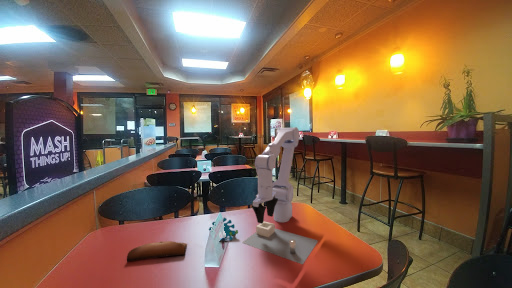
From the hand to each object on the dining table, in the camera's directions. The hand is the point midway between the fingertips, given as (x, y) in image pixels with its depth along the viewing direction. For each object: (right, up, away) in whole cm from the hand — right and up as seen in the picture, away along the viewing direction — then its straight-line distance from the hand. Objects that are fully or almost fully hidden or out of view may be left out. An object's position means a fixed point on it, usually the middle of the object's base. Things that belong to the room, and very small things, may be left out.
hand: (265, 219), depth 81 cm
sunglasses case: (-37, -8, -10) cm, 39 cm away
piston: (+8, -7, -13) cm, 17 cm away
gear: (-16, -7, -3) cm, 18 cm away
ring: (0, -5, 0) cm, 5 cm away
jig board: (+5, -7, -6) cm, 11 cm away
